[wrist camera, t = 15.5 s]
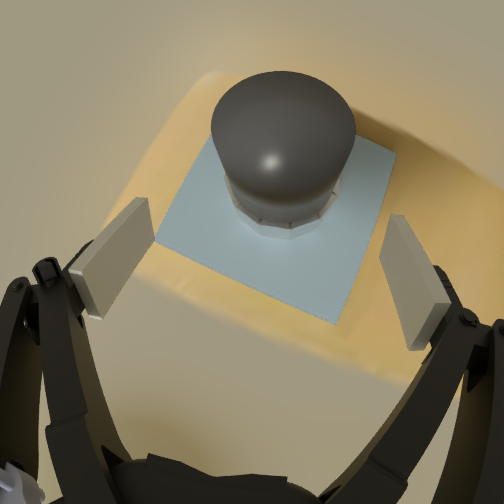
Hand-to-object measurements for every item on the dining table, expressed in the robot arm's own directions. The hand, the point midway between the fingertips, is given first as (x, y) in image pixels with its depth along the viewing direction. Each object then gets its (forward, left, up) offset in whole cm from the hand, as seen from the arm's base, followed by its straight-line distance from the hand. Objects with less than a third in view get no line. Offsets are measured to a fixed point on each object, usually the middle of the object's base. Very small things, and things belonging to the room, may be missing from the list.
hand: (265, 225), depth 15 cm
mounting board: (+6, -4, -14) cm, 16 cm away
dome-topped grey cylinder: (+6, -4, -13) cm, 15 cm away
